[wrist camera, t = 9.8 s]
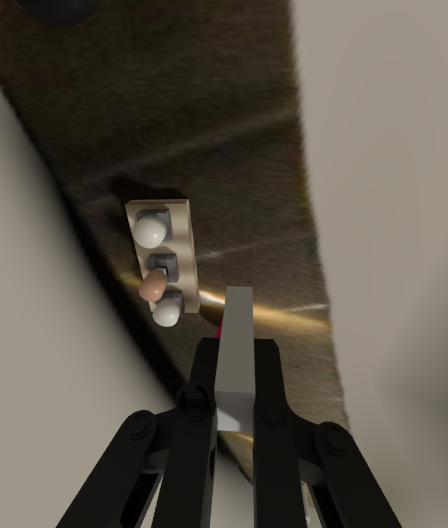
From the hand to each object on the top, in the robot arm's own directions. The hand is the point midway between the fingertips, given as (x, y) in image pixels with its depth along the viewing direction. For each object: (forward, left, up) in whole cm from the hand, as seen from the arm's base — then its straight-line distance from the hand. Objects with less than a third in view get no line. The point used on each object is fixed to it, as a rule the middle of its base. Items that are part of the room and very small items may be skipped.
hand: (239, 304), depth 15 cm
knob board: (+14, -16, -32) cm, 39 cm away
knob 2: (+23, -16, -29) cm, 41 cm away
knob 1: (+5, -16, -29) cm, 34 cm away
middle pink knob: (+14, -16, -27) cm, 34 cm away
